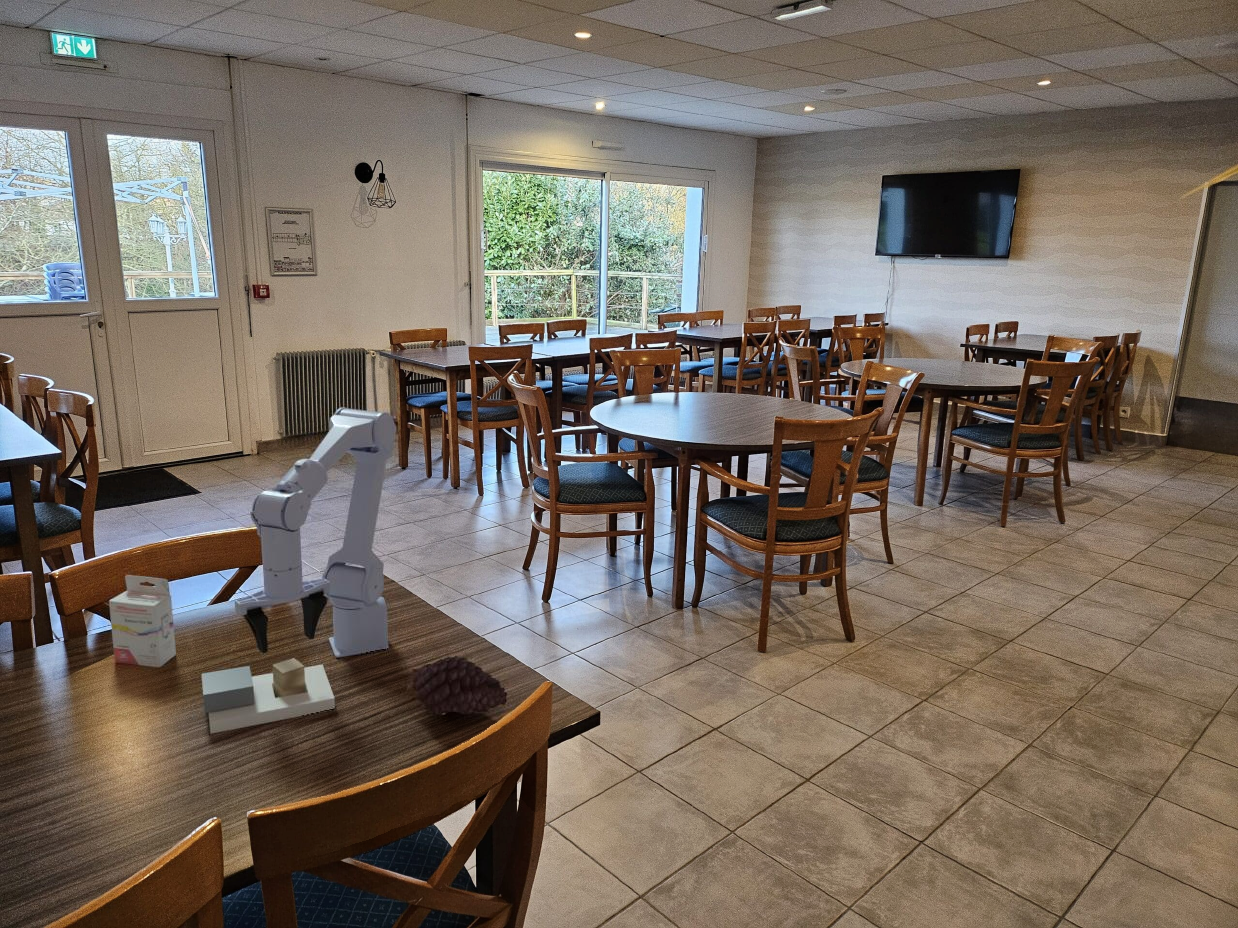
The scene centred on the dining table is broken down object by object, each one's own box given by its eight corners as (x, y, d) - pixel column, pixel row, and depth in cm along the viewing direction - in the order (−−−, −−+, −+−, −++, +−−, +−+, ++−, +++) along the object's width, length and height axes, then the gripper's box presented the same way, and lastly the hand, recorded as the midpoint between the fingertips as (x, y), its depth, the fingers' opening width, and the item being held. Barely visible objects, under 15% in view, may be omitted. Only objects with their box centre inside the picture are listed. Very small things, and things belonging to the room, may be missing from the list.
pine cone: (518, 712, 137) (519, 657, 134) (488, 744, 128) (489, 685, 125) (424, 689, 142) (423, 635, 140) (389, 718, 133) (388, 661, 131)
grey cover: (250, 682, 137) (249, 665, 136) (254, 703, 131) (253, 685, 130) (202, 690, 134) (201, 673, 133) (204, 712, 128) (203, 694, 127)
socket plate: (322, 674, 145) (322, 664, 144) (334, 709, 135) (334, 698, 134) (207, 695, 137) (206, 684, 136) (210, 733, 126) (209, 721, 126)
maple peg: (295, 690, 140) (294, 657, 138) (305, 699, 137) (304, 665, 136) (274, 697, 137) (272, 664, 136) (284, 706, 135) (282, 673, 133)
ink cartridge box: (113, 663, 145) (104, 584, 141) (132, 650, 150) (124, 573, 146) (160, 668, 144) (152, 588, 141) (177, 654, 149) (170, 577, 145)
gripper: (315, 547, 140) (318, 622, 143) (225, 567, 130) (230, 647, 133) (335, 560, 135) (337, 637, 139) (243, 581, 125) (248, 664, 129)
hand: (286, 643), depth 136 cm, fingers open, 7 cm apart
